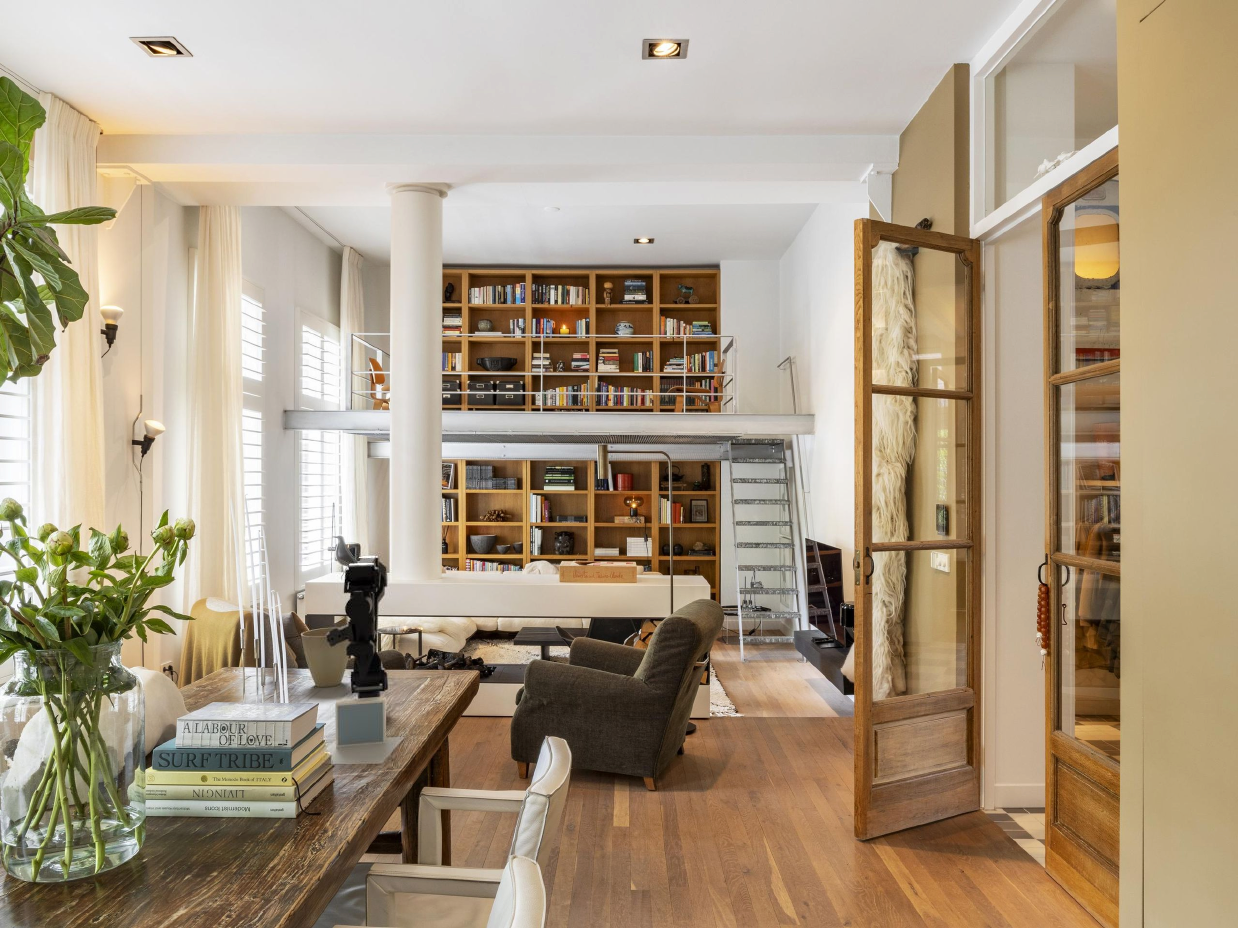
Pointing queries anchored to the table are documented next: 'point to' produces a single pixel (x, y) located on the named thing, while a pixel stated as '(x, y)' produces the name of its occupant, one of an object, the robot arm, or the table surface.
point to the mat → (363, 752)
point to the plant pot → (324, 657)
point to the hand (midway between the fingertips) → (363, 677)
